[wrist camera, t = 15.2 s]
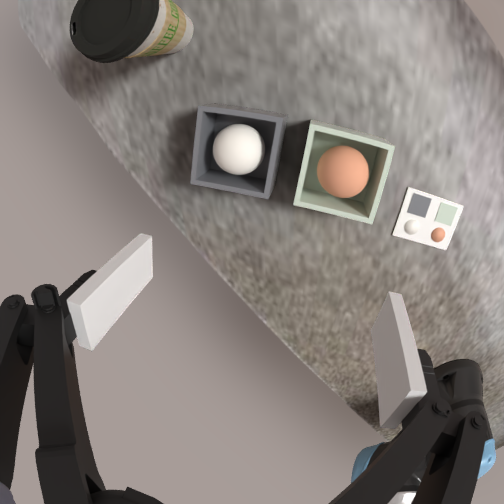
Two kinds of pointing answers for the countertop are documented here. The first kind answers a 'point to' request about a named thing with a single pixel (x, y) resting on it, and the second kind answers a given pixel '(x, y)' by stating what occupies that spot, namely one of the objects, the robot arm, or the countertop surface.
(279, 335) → the countertop surface
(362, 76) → the countertop surface
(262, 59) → the countertop surface
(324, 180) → the ball terracotta
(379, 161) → the sage open box
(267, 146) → the grey open cubby box
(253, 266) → the countertop surface
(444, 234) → the card
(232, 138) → the ball white
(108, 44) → the coffee cup
